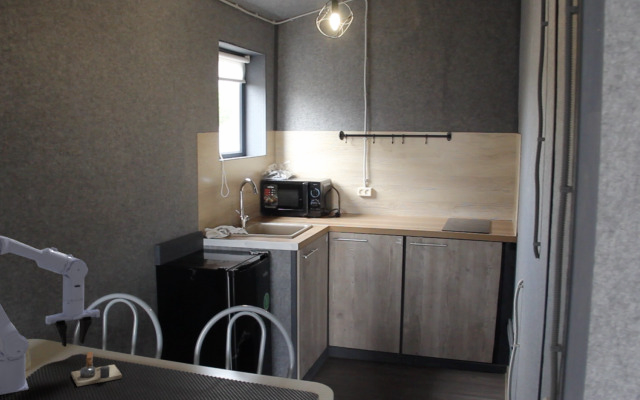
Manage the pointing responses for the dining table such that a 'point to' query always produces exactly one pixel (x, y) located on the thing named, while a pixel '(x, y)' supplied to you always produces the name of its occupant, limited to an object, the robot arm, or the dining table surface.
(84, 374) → the crank
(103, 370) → the post
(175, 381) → the dining table surface
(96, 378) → the board
